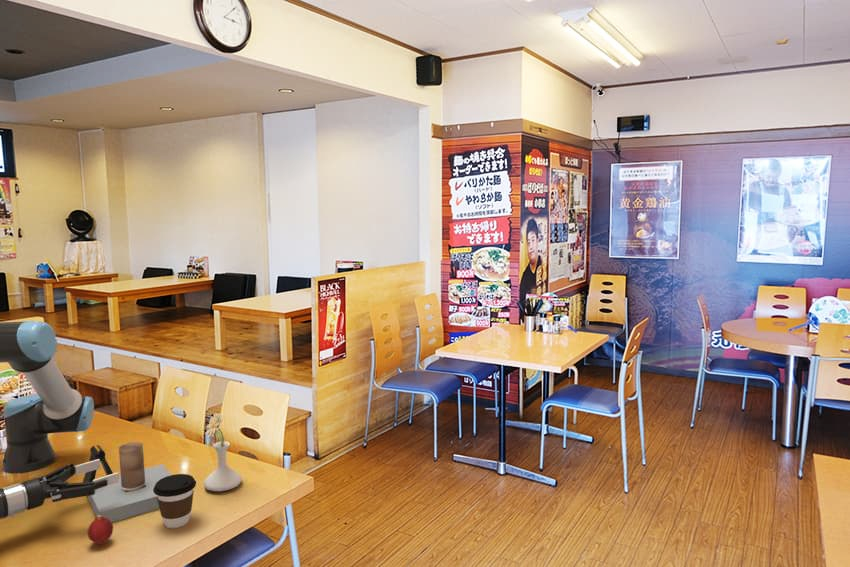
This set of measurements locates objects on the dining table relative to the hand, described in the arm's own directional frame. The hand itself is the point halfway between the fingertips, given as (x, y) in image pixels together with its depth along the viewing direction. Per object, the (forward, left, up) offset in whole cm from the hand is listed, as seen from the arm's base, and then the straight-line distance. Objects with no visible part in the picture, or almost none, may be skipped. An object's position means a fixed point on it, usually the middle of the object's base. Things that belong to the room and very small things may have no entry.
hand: (108, 470), depth 172 cm
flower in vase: (-13, +28, -12) cm, 33 cm away
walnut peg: (-5, +4, -11) cm, 13 cm away
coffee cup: (+8, +23, -11) cm, 27 cm away
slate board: (-5, +4, -11) cm, 13 cm away
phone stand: (-14, -12, -12) cm, 22 cm away
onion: (+19, +8, -11) cm, 24 cm away
